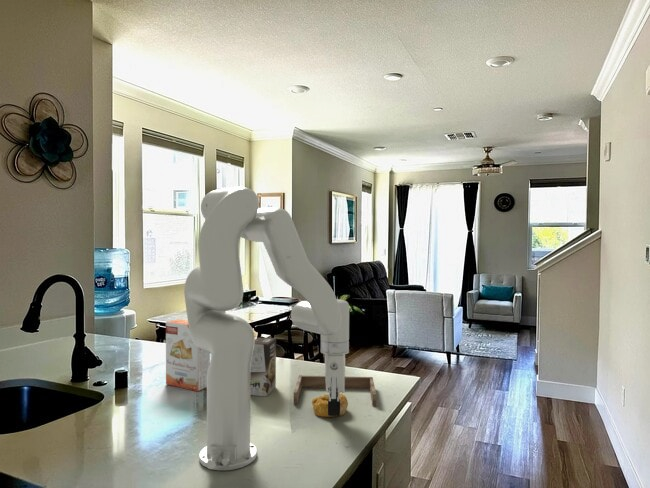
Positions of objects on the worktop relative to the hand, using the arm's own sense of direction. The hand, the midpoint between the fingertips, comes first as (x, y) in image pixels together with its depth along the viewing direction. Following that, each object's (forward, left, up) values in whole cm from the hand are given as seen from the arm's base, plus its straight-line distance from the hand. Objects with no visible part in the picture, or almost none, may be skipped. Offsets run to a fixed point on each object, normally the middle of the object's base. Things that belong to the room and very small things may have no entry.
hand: (334, 414), depth 124 cm
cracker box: (+25, +48, -2) cm, 54 cm away
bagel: (+7, +1, -2) cm, 7 cm away
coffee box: (+22, +23, -2) cm, 32 cm away
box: (+19, 0, -2) cm, 19 cm away
